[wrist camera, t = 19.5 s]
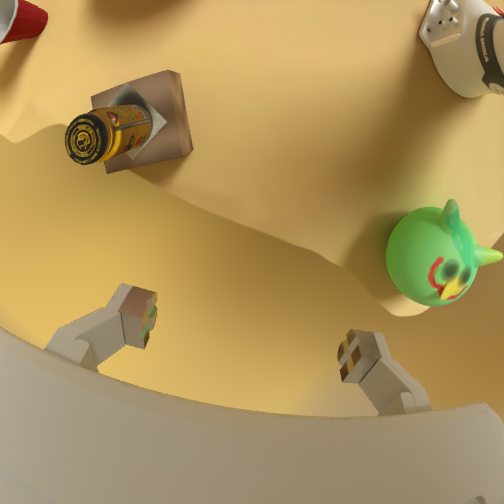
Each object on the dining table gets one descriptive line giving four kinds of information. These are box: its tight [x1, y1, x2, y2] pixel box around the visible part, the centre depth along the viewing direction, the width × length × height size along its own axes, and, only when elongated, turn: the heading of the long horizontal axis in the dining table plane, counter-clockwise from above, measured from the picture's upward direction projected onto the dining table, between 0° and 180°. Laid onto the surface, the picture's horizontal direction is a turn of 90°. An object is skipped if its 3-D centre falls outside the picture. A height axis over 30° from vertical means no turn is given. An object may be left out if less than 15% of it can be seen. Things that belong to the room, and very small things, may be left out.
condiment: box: [65, 82, 167, 165], centre depth 27 cm, size 7×8×12 cm
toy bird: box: [386, 199, 503, 306], centre depth 38 cm, size 18×17×15 cm
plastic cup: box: [0, 0, 48, 44], centre depth 20 cm, size 11×11×12 cm
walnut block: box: [91, 70, 193, 174], centre depth 35 cm, size 12×12×6 cm
